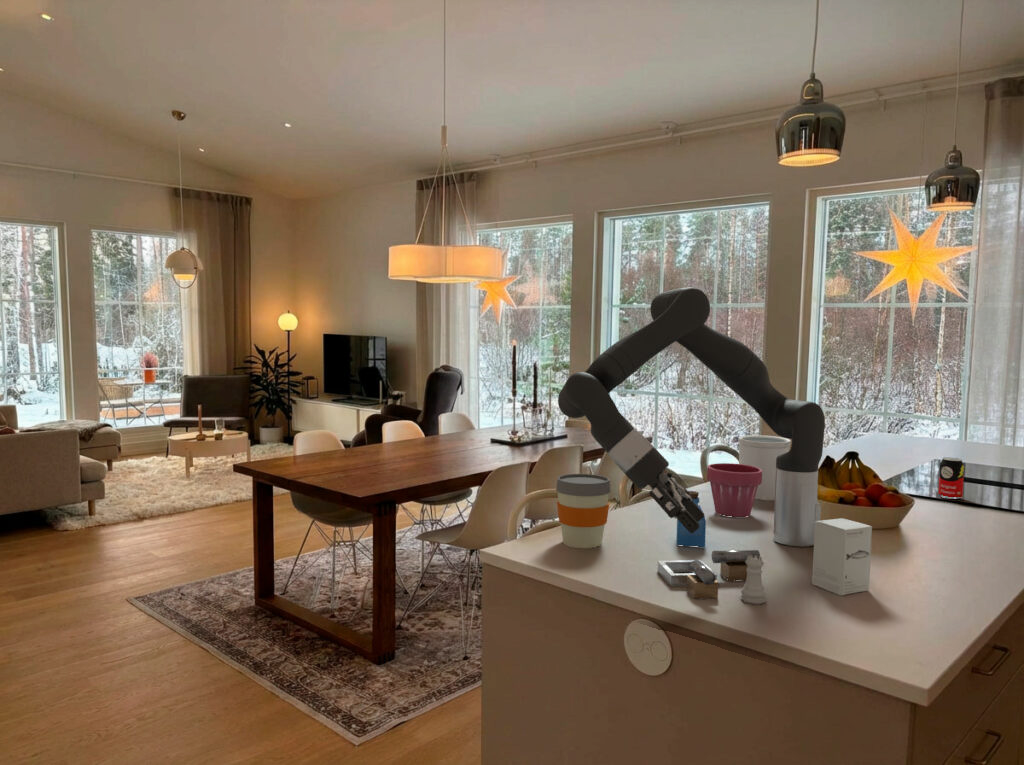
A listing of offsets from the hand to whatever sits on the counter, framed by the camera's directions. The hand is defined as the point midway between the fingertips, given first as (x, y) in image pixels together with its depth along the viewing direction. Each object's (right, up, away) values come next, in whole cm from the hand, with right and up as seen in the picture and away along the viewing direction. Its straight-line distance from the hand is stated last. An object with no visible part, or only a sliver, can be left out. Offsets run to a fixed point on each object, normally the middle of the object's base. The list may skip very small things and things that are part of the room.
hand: (698, 524), depth 135 cm
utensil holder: (+42, -8, +86) cm, 96 cm away
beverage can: (+98, -9, +85) cm, 130 cm away
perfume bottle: (+7, -11, +34) cm, 37 cm away
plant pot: (+25, -10, +63) cm, 69 cm away
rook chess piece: (+9, -14, -2) cm, 17 cm away
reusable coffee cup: (-18, -11, +34) cm, 40 cm away
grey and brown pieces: (+5, -13, +6) cm, 15 cm away
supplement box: (+28, -13, +5) cm, 32 cm away
